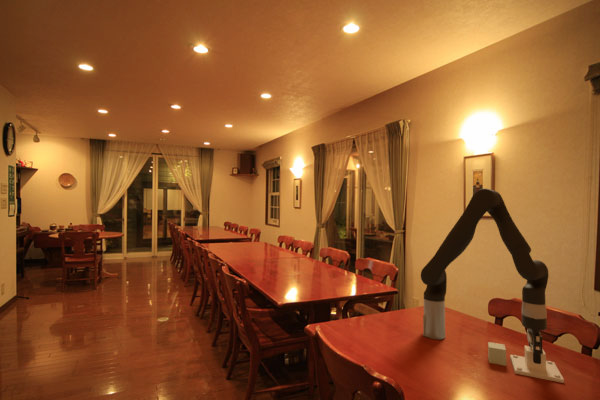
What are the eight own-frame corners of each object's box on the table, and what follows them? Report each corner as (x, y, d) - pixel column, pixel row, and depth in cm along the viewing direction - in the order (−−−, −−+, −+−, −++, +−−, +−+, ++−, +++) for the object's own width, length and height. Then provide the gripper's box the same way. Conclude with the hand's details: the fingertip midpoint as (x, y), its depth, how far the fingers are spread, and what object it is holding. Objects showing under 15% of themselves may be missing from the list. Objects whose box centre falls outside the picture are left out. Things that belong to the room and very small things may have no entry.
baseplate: (515, 373, 116) (515, 368, 116) (510, 357, 128) (510, 353, 128) (564, 383, 109) (563, 378, 109) (554, 365, 122) (553, 361, 122)
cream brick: (527, 367, 118) (527, 351, 118) (524, 361, 123) (524, 345, 123) (546, 371, 115) (545, 354, 115) (542, 364, 120) (542, 348, 120)
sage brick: (489, 362, 124) (488, 347, 124) (488, 356, 129) (488, 341, 129) (506, 366, 121) (506, 350, 122) (504, 359, 126) (504, 344, 127)
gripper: (519, 307, 127) (519, 348, 127) (524, 318, 115) (525, 364, 114) (542, 310, 124) (543, 352, 123) (550, 322, 111) (552, 369, 111)
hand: (534, 358), depth 119 cm, fingers open, 8 cm apart
